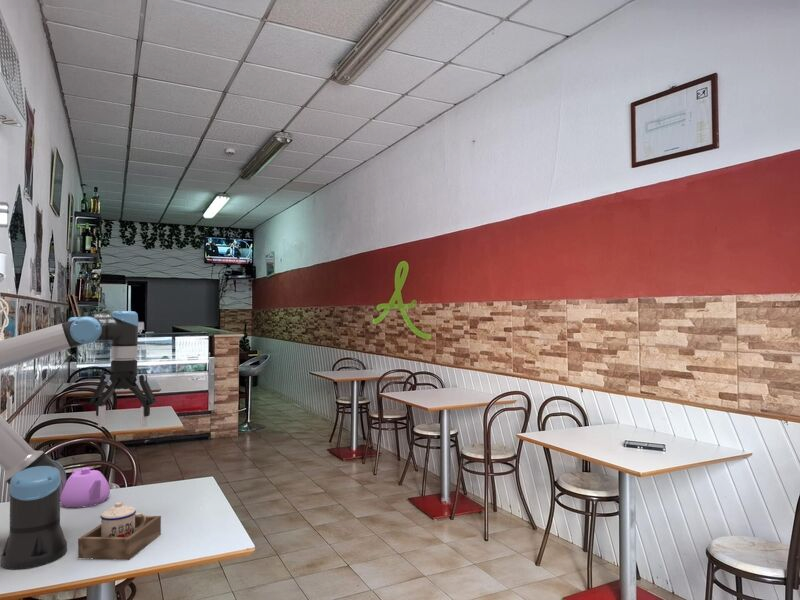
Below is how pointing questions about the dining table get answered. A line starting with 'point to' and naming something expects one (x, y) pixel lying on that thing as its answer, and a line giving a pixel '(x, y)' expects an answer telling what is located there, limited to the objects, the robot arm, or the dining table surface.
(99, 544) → the walnut crate
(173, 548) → the dining table surface
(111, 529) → the teacup with lid
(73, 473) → the teapot
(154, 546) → the dining table surface
